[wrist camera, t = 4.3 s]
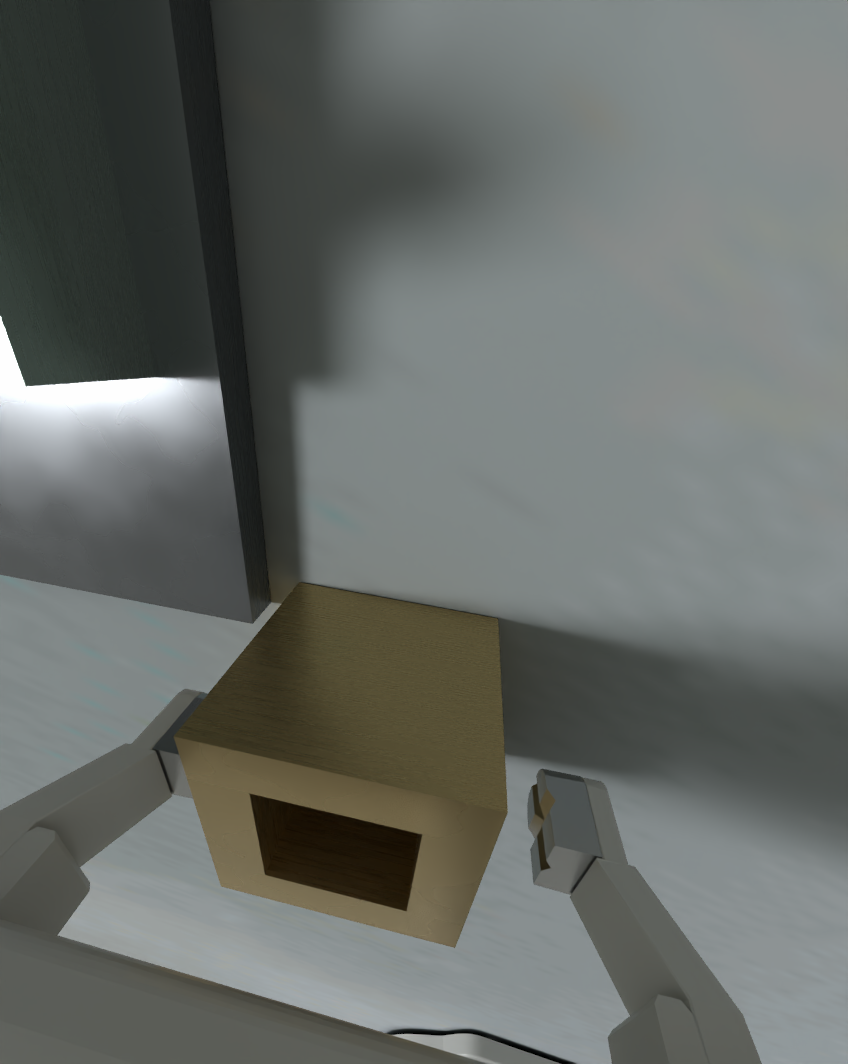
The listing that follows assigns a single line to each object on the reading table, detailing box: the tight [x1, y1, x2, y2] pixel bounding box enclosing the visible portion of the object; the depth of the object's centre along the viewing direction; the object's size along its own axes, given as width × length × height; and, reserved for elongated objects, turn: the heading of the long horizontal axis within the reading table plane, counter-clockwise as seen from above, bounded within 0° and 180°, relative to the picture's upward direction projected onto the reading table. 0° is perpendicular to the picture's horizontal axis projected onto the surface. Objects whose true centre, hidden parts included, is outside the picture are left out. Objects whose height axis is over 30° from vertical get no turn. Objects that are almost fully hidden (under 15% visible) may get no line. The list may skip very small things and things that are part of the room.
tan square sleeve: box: [174, 582, 508, 948], centre depth 10 cm, size 6×6×5 cm
